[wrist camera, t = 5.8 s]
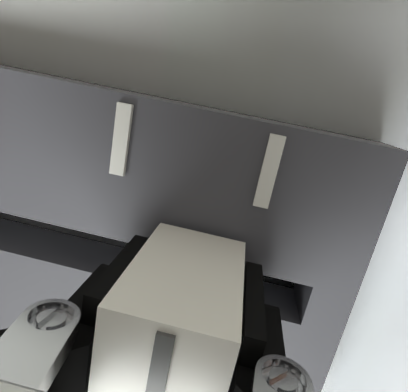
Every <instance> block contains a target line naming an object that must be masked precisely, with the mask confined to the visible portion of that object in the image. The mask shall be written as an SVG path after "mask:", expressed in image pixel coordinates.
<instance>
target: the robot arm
mask: <svg viewBox="0 0 408 392" xmlns="http://www.w3.org/2000/svg"><path fill="white" fill-rule="evenodd" d="M147 240H148V238H147V237H143V236H139V235H135V236H134V237H133V238H132V239H131V240H130V241H129V243H128V244H127V245H126V246H125V247H124V248H123V250H122V251H121V252H120V253H119V254H118V255H117V256H116V258H115V259H114V260H113V261H112V262H111V263H110V265H107V264H101V265H100V266H99V267H98V268H97V269H96V270H95V271H94V272H93V273H92V274H91V275H90V276H89V277H88V279H87V280H86V281H85V282H84V283H83V284H82V285H81V286H80V287H79V288H78V289H77V290H76V292H75V293H74V294H73V295H72V296H71V297H70V298H69V299H68V300H64V299H46V300H42V301H38V302H36V303H34V304H32V305H30V306H29V307H28V308H26V309H25V310H24V311H23V312H22V313H21V314H20V316H19V317H18V318H17V319H16V320H15V321H14V322H13V323H12V325H11V326H10V327H9V328H6V329H2V330H0V392H88V385H89V376H90V367H91V359H92V350H93V341H94V332H95V324H96V315H97V307H98V305H99V304H100V303H101V301H102V300H103V299H104V297H105V296H106V295H107V293H108V292H109V291H110V289H111V288H112V287H113V285H114V284H115V283H116V281H117V280H118V279H119V277H120V276H121V275H122V273H123V272H124V271H125V269H126V268H127V267H128V265H129V264H130V263H131V261H132V260H133V259H134V257H135V256H136V255H137V253H138V252H139V251H140V249H141V248H142V247H143V245H144V244H145V243H146V241H147ZM228 392H314V387H313V383H312V379H311V378H310V376H309V374H308V373H307V371H306V370H305V369H304V368H303V367H302V366H301V365H299V364H298V363H296V362H295V361H293V360H292V359H289V358H287V357H286V354H285V346H284V339H283V331H282V324H281V316H280V309H279V307H276V306H272V305H268V304H265V303H264V286H263V270H262V265H260V264H256V263H252V262H248V261H247V262H246V264H245V267H244V290H243V313H242V336H241V346H240V350H239V353H238V357H237V361H236V365H235V368H234V372H233V376H232V379H231V383H230V387H229V390H228Z"/></svg>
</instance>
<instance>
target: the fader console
mask: <svg viewBox="0 0 408 392" xmlns="http://www.w3.org/2000/svg"><path fill="white" fill-rule="evenodd" d="M407 161H408V151H406V150H403V149H400V148H397V147H394V146H391V145H388V144H385V143H382V142H377V141H372V140H367V139H362V138H357V137H353V136H348V135H343V134H338V133H333V132H328V131H323V130H318V129H313V128H308V127H304V126H299V125H294V124H289V123H284V122H279V121H274V120H269V119H264V118H259V117H254V116H250V115H245V114H240V113H235V112H230V111H225V110H220V109H215V108H210V107H205V106H201V105H196V104H191V103H186V102H181V101H176V100H171V99H166V98H161V97H156V96H151V95H147V94H142V93H137V92H132V91H127V90H122V89H117V88H112V87H107V86H102V85H98V84H93V83H88V82H83V81H78V80H73V79H68V78H63V77H58V76H53V75H48V74H44V73H39V72H34V71H29V70H24V69H19V68H14V67H9V66H4V65H0V212H1V213H5V214H10V215H14V216H18V217H22V218H26V219H30V220H35V221H39V222H43V223H47V224H51V225H56V226H60V227H64V228H68V229H72V230H76V231H81V232H85V233H89V234H93V235H97V236H101V237H106V238H110V239H114V240H118V241H122V242H127V243H129V241H130V240H131V239H132V238H133V237H134V236H135V235H139V236H143V237H147V238H149V237H150V236H151V234H152V233H153V232H154V230H155V229H156V228H157V226H158V225H159V224H160V223H164V224H168V225H173V226H177V227H181V228H185V229H190V230H194V231H198V232H203V233H207V234H211V235H215V236H220V237H224V238H228V239H233V240H237V241H241V242H246V244H245V264H246V262H247V261H248V262H252V263H256V264H260V265H262V270H263V275H264V276H268V277H273V278H277V279H281V280H285V281H289V282H294V283H295V284H294V287H293V288H288V287H284V286H280V285H276V284H272V283H268V282H264V281H263V286H264V303H265V304H268V305H272V306H276V307H279V309H280V316H281V324H282V331H283V339H284V346H285V354H286V357H287V358H289V359H292V360H293V361H295V362H296V363H298V364H299V365H301V366H302V367H303V368H304V369H305V370H306V371H307V373H308V374H309V376H310V378H311V379H312V383H313V387H314V392H321V390H322V387H323V385H324V382H325V379H326V377H327V374H328V371H329V369H330V366H331V363H332V361H333V358H334V355H335V353H336V350H337V347H338V345H339V342H340V339H341V337H342V334H343V331H344V329H345V326H346V323H347V321H348V318H349V315H350V313H351V310H352V307H353V305H354V302H355V299H356V297H357V294H358V291H359V289H360V286H361V283H362V281H363V278H364V275H365V273H366V270H367V267H368V265H369V262H370V259H371V257H372V254H373V251H374V249H375V246H376V243H377V241H378V238H379V235H380V233H381V230H382V227H383V225H384V222H385V219H386V217H387V214H388V211H389V209H390V206H391V203H392V201H393V198H394V195H395V193H396V190H397V187H398V185H399V182H400V179H401V177H402V174H403V171H404V169H405V166H406V163H407ZM122 250H123V248H122V247H118V246H114V245H110V244H106V243H102V242H98V241H93V240H89V239H85V238H81V237H77V236H73V235H68V234H64V233H60V232H56V231H52V230H48V229H44V228H39V227H35V226H31V225H27V224H23V223H19V222H15V221H10V220H6V219H2V218H0V330H2V329H6V328H9V327H10V326H11V325H12V323H13V322H14V321H15V320H16V319H17V318H18V317H19V316H20V314H21V313H22V312H23V311H24V310H25V309H26V308H28V307H29V306H30V305H32V304H34V303H36V302H38V301H42V300H46V299H64V300H68V299H69V298H70V297H71V296H72V295H73V294H74V293H75V292H76V290H77V289H78V288H79V287H80V286H81V285H82V284H83V283H84V282H85V281H86V280H87V279H88V277H89V276H90V275H91V274H92V273H93V272H94V271H95V270H96V269H97V268H98V267H99V266H100V265H101V264H107V265H110V263H111V262H112V261H113V260H114V259H115V258H116V256H117V255H118V254H119V253H120V252H121V251H122Z"/></svg>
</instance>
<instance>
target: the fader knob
mask: <svg viewBox="0 0 408 392" xmlns="http://www.w3.org/2000/svg"><path fill="white" fill-rule="evenodd" d="M245 244H246V242H241V241H237V240H233V239H228V238H224V237H220V236H215V235H211V234H207V233H203V232H198V231H194V230H190V229H185V228H181V227H177V226H173V225H168V224H164V223H160V224H159V225H158V226H157V228H156V229H155V230H154V232H153V233H152V234H151V236H150V237H149V238H148V240H147V241H146V243H145V244H144V245H143V247H142V248H141V249H140V251H139V252H138V253H137V255H136V256H135V257H134V259H133V260H132V261H131V263H130V264H129V265H128V267H127V268H126V269H125V271H124V272H123V273H122V275H121V276H120V277H119V279H118V280H117V281H116V283H115V284H114V285H113V287H112V288H111V289H110V291H109V292H108V293H107V295H106V296H105V297H104V299H103V300H102V301H101V303H100V304H99V305H98V307H97V315H96V324H95V332H94V341H93V350H92V359H91V367H90V376H89V385H88V392H228V390H229V387H230V383H231V379H232V376H233V372H234V368H235V365H236V361H237V357H238V353H239V350H240V346H241V336H242V313H243V290H244V267H245Z"/></svg>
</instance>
